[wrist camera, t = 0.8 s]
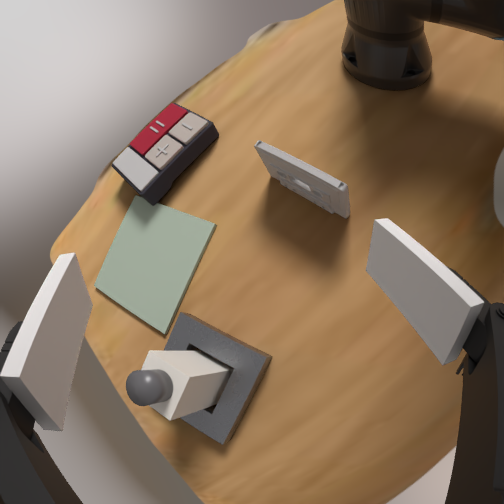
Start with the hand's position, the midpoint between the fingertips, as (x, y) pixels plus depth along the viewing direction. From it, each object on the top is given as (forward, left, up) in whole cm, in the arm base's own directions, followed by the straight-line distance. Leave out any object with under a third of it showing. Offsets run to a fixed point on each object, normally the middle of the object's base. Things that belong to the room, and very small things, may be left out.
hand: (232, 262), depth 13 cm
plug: (+12, -8, -24) cm, 28 cm away
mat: (+2, -24, -24) cm, 34 cm away
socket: (+12, -8, -24) cm, 28 cm away
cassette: (-14, -6, -25) cm, 29 cm away
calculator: (-14, -30, -24) cm, 41 cm away
